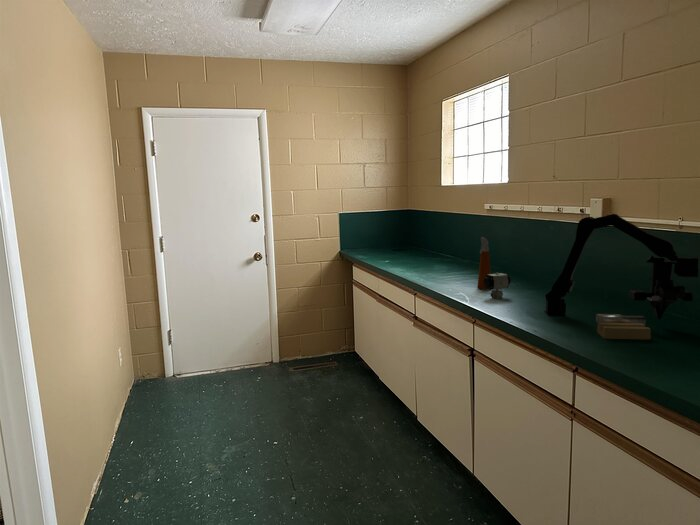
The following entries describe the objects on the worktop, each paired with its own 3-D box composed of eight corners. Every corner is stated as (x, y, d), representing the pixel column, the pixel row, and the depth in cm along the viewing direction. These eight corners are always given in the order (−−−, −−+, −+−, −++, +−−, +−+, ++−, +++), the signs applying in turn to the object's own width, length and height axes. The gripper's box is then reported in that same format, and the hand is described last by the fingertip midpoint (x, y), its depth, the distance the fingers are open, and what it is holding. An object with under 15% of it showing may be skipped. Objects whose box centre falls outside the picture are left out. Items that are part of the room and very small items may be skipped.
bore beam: (605, 329, 168) (606, 321, 167) (595, 321, 177) (596, 313, 177) (630, 330, 166) (630, 321, 166) (619, 322, 176) (619, 314, 176)
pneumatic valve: (482, 298, 220) (483, 272, 218) (503, 295, 224) (504, 270, 222) (490, 300, 215) (490, 274, 213) (511, 298, 219) (512, 272, 217)
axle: (602, 328, 171) (603, 317, 170) (598, 324, 175) (599, 313, 174) (645, 329, 168) (646, 318, 168) (640, 324, 172) (641, 314, 171)
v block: (604, 338, 158) (604, 328, 158) (596, 332, 165) (597, 322, 164) (650, 339, 156) (651, 329, 155) (641, 333, 163) (641, 323, 162)
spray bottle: (472, 290, 237) (473, 237, 233) (479, 286, 246) (480, 235, 242) (486, 291, 233) (487, 237, 229) (493, 287, 242) (494, 235, 238)
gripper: (642, 279, 160) (639, 324, 163) (704, 280, 157) (700, 325, 160) (628, 274, 171) (626, 316, 174) (686, 274, 168) (682, 317, 171)
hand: (658, 319), depth 169 cm, fingers closed
